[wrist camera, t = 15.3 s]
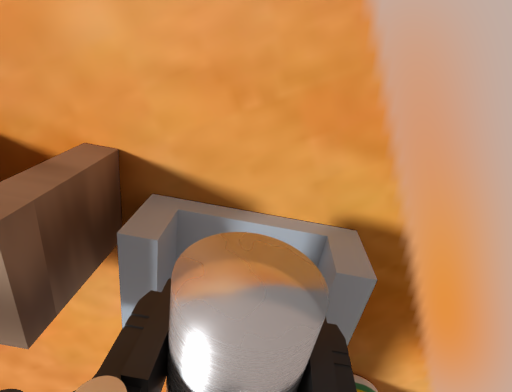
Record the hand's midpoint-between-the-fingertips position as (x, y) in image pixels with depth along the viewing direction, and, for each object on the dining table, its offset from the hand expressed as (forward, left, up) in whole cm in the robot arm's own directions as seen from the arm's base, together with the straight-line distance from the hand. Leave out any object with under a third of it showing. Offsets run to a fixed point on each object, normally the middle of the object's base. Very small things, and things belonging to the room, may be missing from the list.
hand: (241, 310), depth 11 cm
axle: (-3, 0, 0) cm, 3 cm away
